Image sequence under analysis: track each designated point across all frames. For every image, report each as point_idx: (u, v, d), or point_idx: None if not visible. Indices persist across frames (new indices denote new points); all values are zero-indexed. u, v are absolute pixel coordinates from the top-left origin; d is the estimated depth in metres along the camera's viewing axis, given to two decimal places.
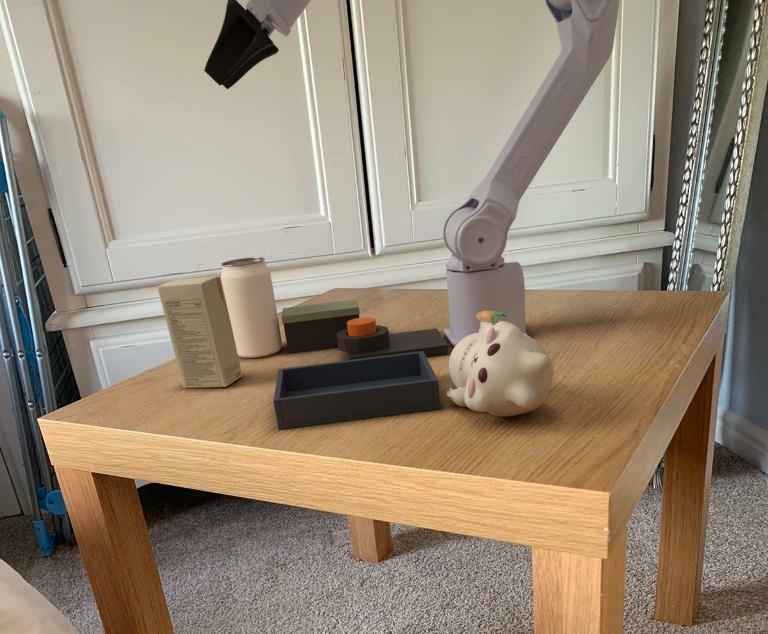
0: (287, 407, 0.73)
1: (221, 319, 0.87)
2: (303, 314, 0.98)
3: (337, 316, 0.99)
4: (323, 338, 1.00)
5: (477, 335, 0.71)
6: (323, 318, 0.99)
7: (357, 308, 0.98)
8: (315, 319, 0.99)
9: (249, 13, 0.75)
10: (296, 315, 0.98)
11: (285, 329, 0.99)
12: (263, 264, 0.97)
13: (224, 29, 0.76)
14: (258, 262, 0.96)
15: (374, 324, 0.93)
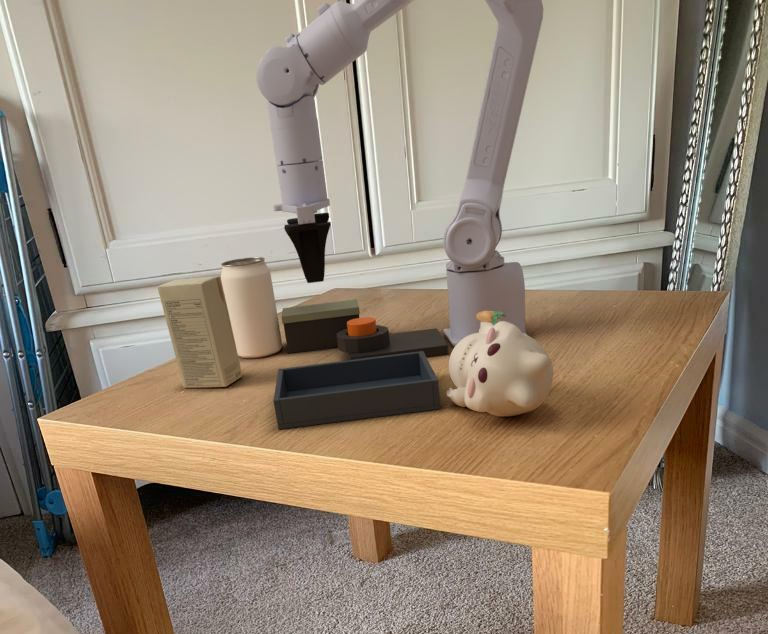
0: (287, 407, 0.73)
1: (221, 319, 0.87)
2: (303, 314, 0.98)
3: (337, 316, 0.99)
4: (323, 338, 1.00)
5: (477, 335, 0.71)
6: (323, 318, 0.99)
7: (357, 308, 0.98)
8: (315, 319, 0.99)
9: (303, 224, 0.90)
10: (296, 315, 0.98)
11: (285, 329, 0.99)
12: (263, 264, 0.97)
13: (298, 248, 0.92)
14: (258, 262, 0.96)
15: (374, 324, 0.93)
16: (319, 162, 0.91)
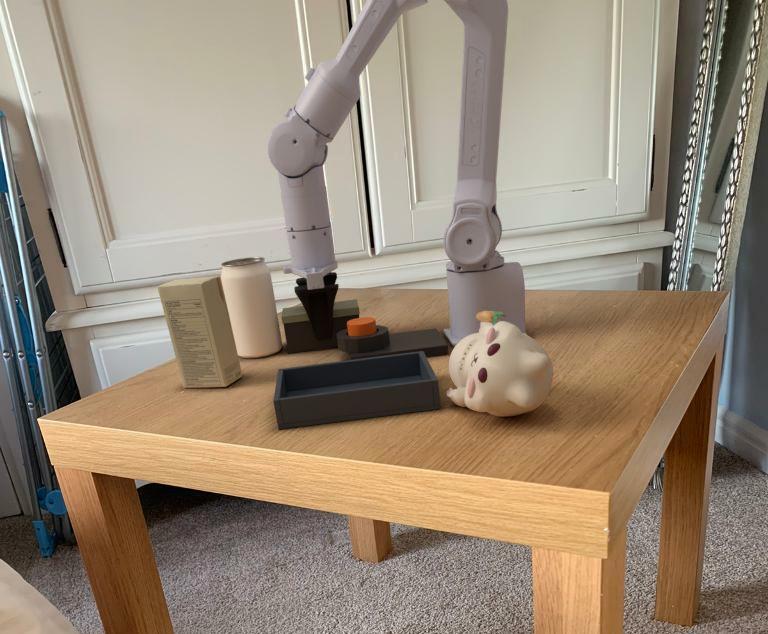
0: (287, 407, 0.73)
1: (221, 319, 0.87)
2: (303, 314, 0.98)
3: (337, 316, 0.99)
4: None
5: (477, 335, 0.71)
6: None
7: (357, 308, 0.98)
8: None
9: None
10: (296, 315, 0.98)
11: (285, 329, 0.99)
12: (263, 264, 0.97)
13: (307, 309, 0.96)
14: (258, 262, 0.96)
15: (374, 324, 0.93)
16: (328, 228, 0.95)
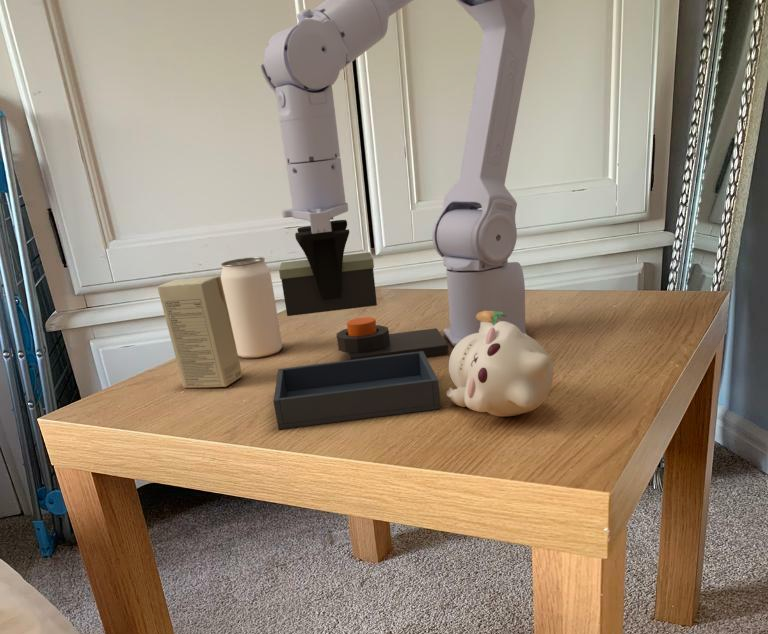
0: (287, 407, 0.73)
1: (221, 319, 0.87)
2: (305, 267, 0.81)
3: (347, 271, 0.81)
4: None
5: (477, 335, 0.71)
6: None
7: (371, 260, 0.81)
8: None
9: (318, 232, 0.77)
10: (297, 269, 0.81)
11: (283, 286, 0.82)
12: (263, 264, 0.97)
13: (311, 260, 0.79)
14: (258, 262, 0.96)
15: (374, 324, 0.93)
16: (336, 160, 0.77)
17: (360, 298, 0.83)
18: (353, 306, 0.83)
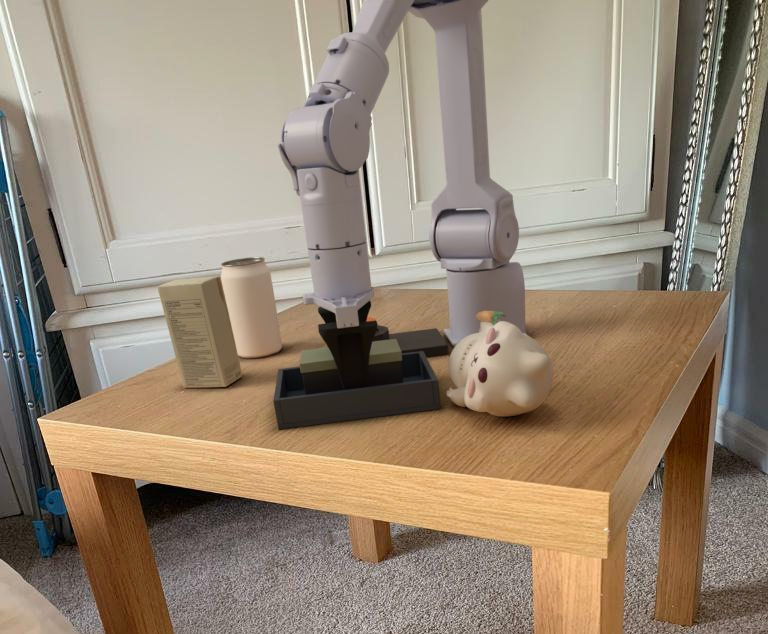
0: (287, 407, 0.73)
1: (221, 319, 0.87)
2: (328, 361, 0.75)
3: (373, 363, 0.75)
4: None
5: (477, 335, 0.71)
6: None
7: (399, 353, 0.75)
8: None
9: (343, 326, 0.70)
10: (319, 362, 0.75)
11: (304, 380, 0.76)
12: (263, 264, 0.97)
13: (335, 354, 0.72)
14: (258, 262, 0.96)
15: None
16: (363, 245, 0.71)
17: None
18: None
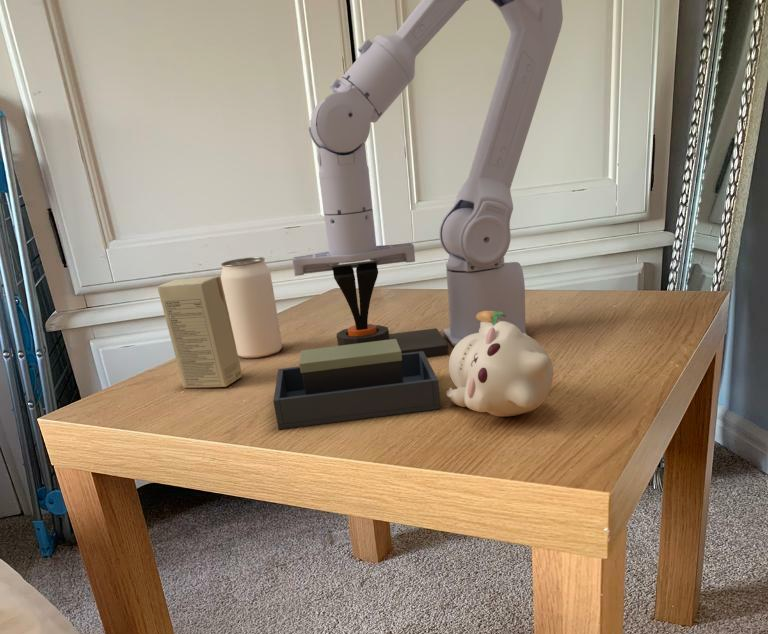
0: (287, 407, 0.73)
1: (221, 319, 0.87)
2: (328, 361, 0.75)
3: (373, 363, 0.75)
4: None
5: (477, 335, 0.71)
6: (354, 366, 0.75)
7: (399, 353, 0.75)
8: (344, 367, 0.75)
9: None
10: (319, 362, 0.75)
11: (304, 380, 0.76)
12: (263, 264, 0.97)
13: None
14: (258, 262, 0.96)
15: (375, 331, 0.94)
16: (336, 216, 0.86)
17: None
18: None
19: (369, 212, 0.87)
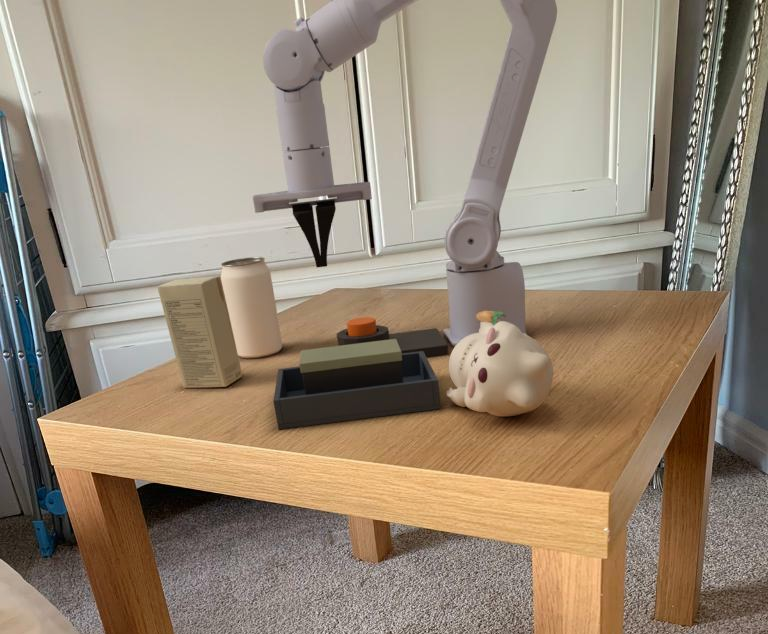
0: (287, 407, 0.73)
1: (221, 319, 0.87)
2: (328, 361, 0.75)
3: (373, 363, 0.75)
4: None
5: (477, 335, 0.71)
6: (354, 366, 0.75)
7: (399, 353, 0.75)
8: (344, 367, 0.75)
9: None
10: (319, 362, 0.75)
11: (304, 380, 0.76)
12: (263, 264, 0.97)
13: None
14: (258, 262, 0.96)
15: (374, 324, 0.93)
16: (293, 152, 0.89)
17: None
18: None
19: (325, 149, 0.90)
